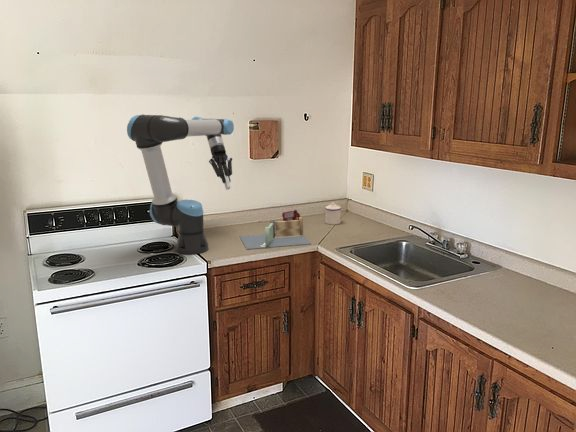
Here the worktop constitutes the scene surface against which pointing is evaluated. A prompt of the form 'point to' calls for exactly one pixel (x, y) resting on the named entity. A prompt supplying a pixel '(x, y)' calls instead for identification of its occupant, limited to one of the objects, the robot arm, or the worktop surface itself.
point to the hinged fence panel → (268, 234)
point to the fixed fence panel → (288, 228)
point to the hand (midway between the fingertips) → (228, 188)
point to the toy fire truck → (290, 215)
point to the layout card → (272, 241)
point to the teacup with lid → (333, 214)
